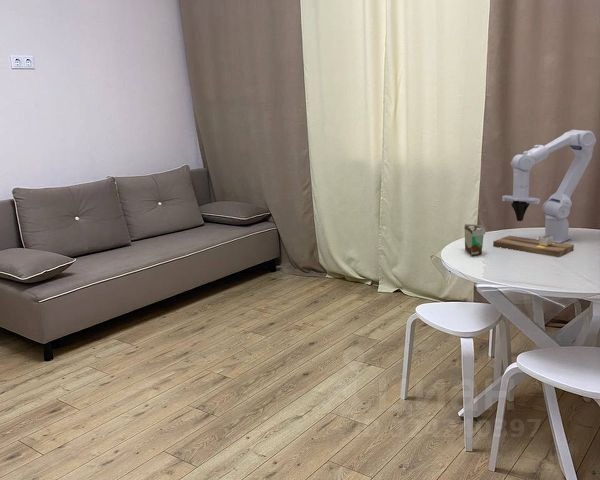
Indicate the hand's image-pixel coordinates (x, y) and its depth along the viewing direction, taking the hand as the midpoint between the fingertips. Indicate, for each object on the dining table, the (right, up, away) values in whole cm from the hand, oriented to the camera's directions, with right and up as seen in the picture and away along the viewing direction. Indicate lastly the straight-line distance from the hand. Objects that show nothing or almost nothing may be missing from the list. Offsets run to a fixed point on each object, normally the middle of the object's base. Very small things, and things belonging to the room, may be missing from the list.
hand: (519, 220), depth 232 cm
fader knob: (+6, -9, -9) cm, 14 cm away
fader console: (+3, -11, -5) cm, 12 cm away
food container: (-19, -13, -7) cm, 24 cm away
